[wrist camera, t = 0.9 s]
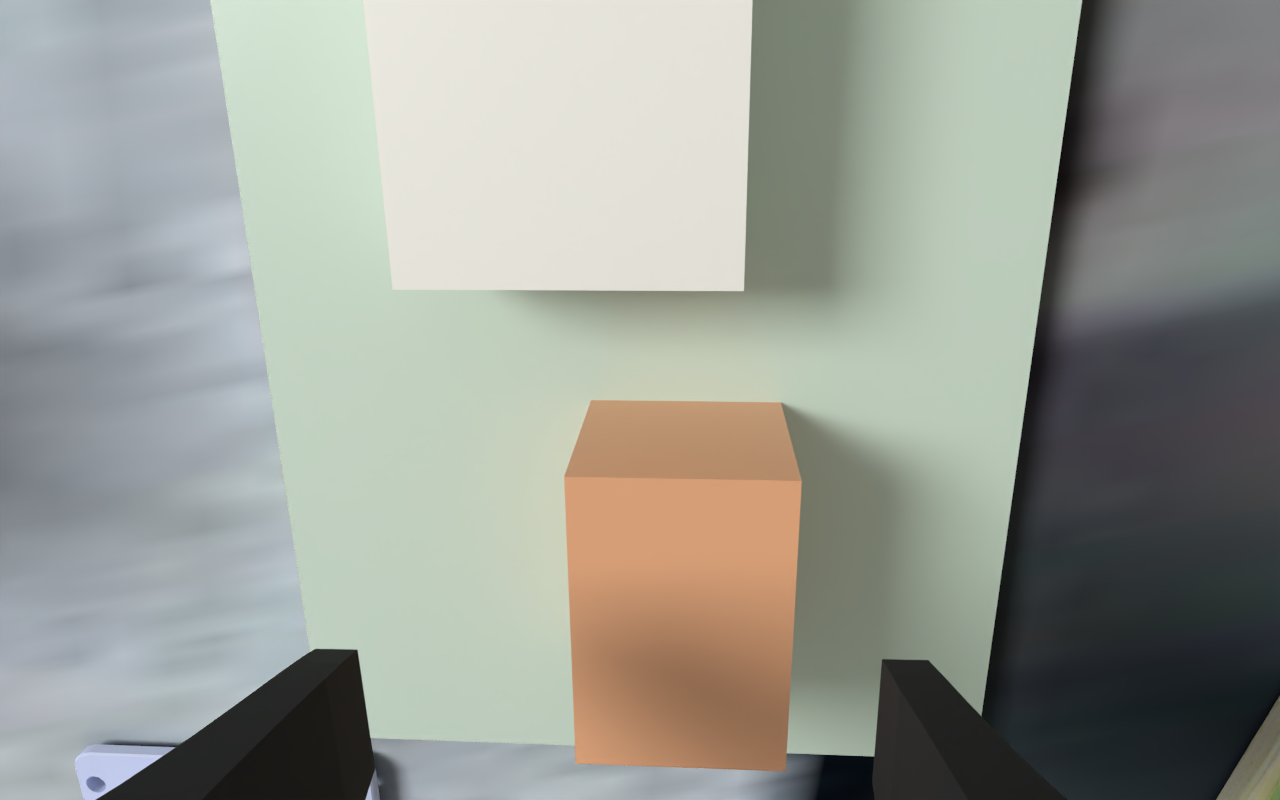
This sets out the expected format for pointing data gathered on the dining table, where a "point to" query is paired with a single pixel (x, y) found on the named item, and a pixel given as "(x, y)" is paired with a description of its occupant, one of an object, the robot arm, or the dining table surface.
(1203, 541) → the dining table surface
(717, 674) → the top brick
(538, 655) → the baseplate
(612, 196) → the base brick
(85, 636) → the dining table surface
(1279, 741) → the beige tall rectangular block
